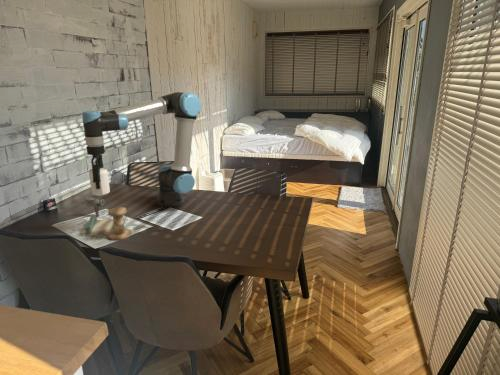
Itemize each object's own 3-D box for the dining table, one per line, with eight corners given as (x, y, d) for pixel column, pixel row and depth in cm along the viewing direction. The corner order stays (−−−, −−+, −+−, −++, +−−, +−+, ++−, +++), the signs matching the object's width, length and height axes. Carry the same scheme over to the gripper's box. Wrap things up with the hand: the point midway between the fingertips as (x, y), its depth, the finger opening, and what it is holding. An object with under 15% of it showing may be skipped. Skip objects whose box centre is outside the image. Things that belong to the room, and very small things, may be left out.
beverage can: (98, 197, 161) (95, 172, 157) (88, 194, 165) (84, 169, 161) (113, 192, 167) (110, 168, 164) (103, 189, 171) (100, 166, 168)
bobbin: (132, 230, 170) (129, 205, 166) (130, 239, 161) (127, 213, 157) (110, 232, 168) (107, 207, 164) (107, 241, 158) (104, 214, 154)
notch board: (124, 220, 182) (123, 212, 180) (120, 232, 167) (120, 224, 166) (91, 222, 178) (90, 215, 177) (85, 236, 163) (84, 227, 162)
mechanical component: (104, 218, 184) (102, 200, 181) (87, 216, 186) (84, 199, 183) (107, 216, 187) (105, 198, 184) (90, 214, 189) (88, 197, 186)
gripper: (90, 141, 168) (96, 186, 175) (81, 150, 149) (88, 199, 155) (107, 141, 169) (112, 185, 176) (99, 149, 150) (106, 198, 157)
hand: (101, 192), depth 166 cm, fingers closed on beverage can, 8 cm apart
